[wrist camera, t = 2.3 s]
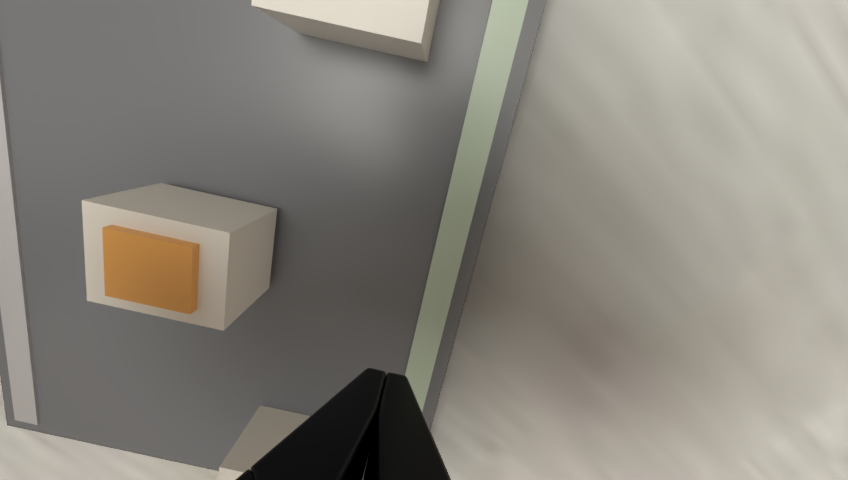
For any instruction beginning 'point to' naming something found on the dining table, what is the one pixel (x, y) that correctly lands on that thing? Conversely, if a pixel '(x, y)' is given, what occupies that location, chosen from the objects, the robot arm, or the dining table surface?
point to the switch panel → (251, 182)
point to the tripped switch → (177, 253)
